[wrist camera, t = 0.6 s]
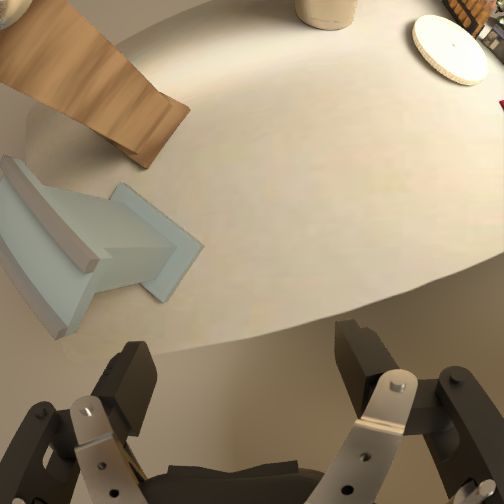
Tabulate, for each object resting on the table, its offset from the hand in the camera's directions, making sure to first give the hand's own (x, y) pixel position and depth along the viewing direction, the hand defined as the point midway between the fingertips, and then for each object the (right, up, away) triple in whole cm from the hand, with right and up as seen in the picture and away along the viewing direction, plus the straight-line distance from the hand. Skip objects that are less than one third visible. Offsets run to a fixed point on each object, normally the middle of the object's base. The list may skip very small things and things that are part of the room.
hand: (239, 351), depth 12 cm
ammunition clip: (+38, +47, +17) cm, 63 cm away
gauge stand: (-16, +24, +26) cm, 39 cm away
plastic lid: (+32, +36, +19) cm, 52 cm away
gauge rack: (-14, +6, +26) cm, 30 cm away
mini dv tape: (+46, +40, +16) cm, 63 cm away
